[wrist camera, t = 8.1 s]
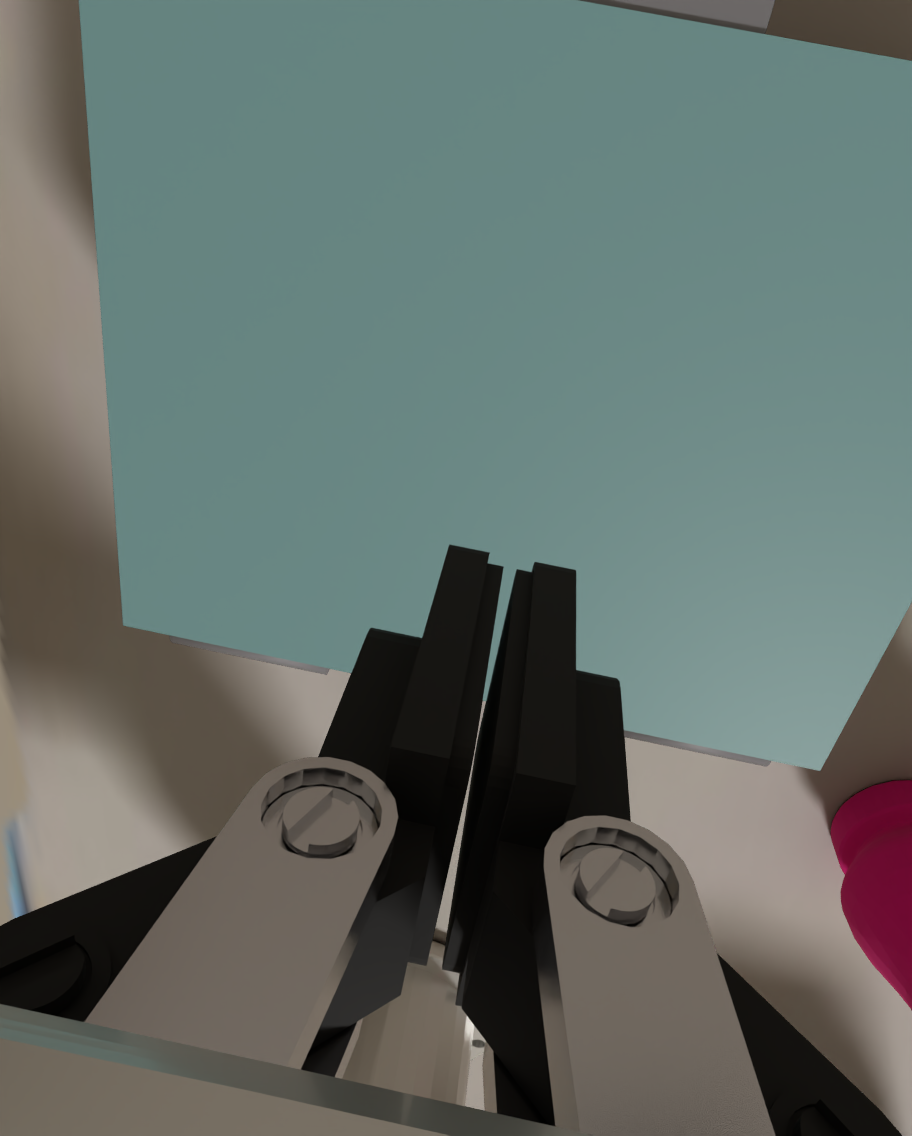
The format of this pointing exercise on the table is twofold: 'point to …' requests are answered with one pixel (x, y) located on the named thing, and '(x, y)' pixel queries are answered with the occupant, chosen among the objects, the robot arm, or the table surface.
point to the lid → (513, 337)
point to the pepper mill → (879, 877)
